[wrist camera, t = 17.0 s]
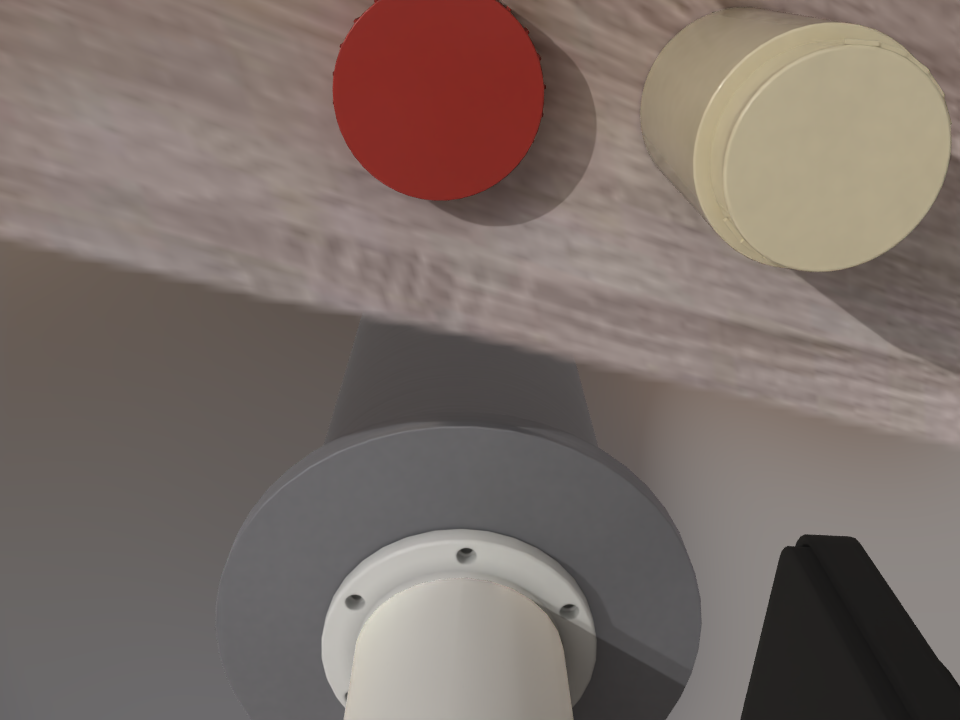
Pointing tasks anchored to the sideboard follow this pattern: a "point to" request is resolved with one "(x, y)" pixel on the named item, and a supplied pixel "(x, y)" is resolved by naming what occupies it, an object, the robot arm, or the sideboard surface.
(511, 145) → the jam lid
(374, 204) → the sideboard surface
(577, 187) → the sideboard surface
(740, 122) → the jam jar
